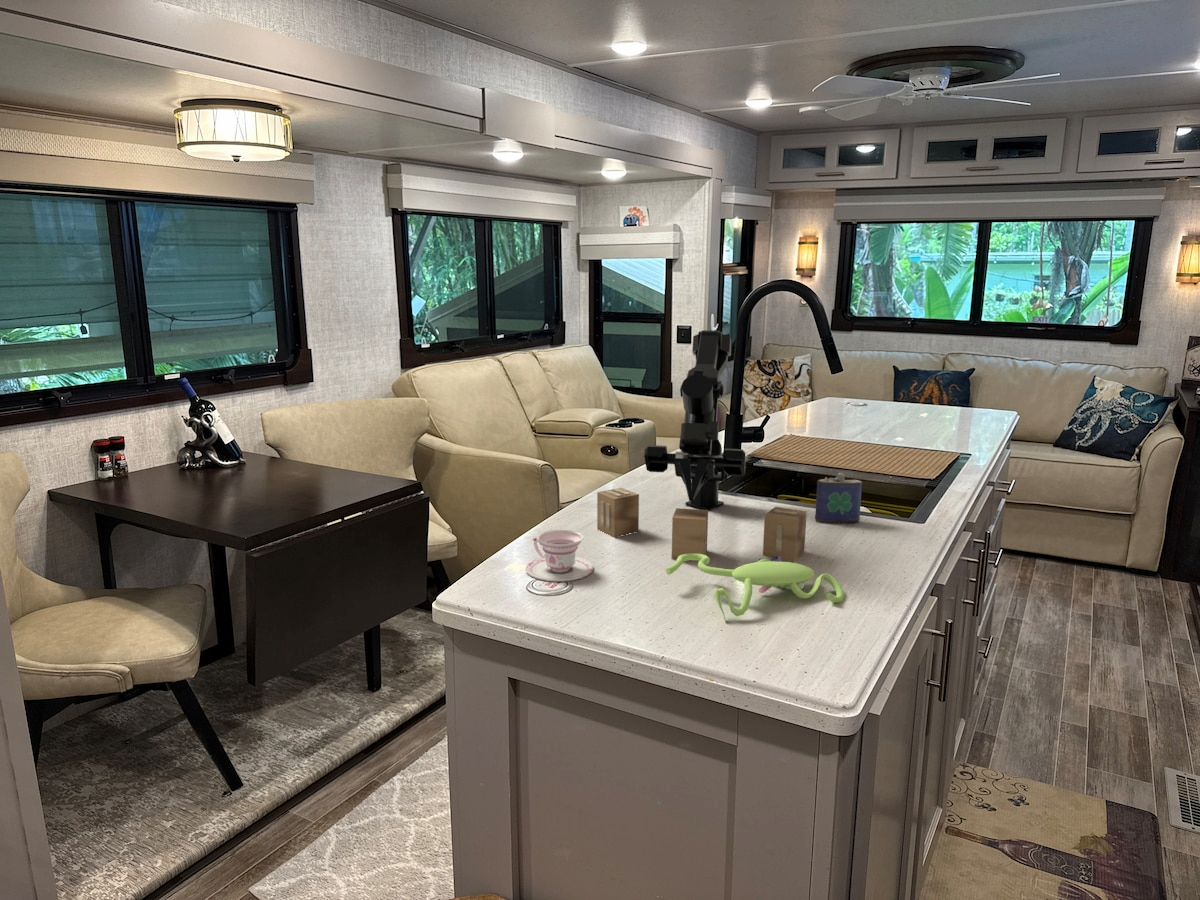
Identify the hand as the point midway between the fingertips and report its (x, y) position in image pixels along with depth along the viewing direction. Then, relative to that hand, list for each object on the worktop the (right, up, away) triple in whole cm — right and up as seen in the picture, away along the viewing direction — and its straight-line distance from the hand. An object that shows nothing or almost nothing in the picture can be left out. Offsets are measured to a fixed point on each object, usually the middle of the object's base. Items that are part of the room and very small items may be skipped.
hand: (691, 499), depth 150 cm
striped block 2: (+18, -10, +3) cm, 21 cm away
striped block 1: (-13, -7, +16) cm, 22 cm away
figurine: (+8, -15, -16) cm, 23 cm away
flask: (+33, -6, +22) cm, 40 cm away
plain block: (0, -10, +2) cm, 11 cm away
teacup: (-24, -12, -5) cm, 27 cm away
